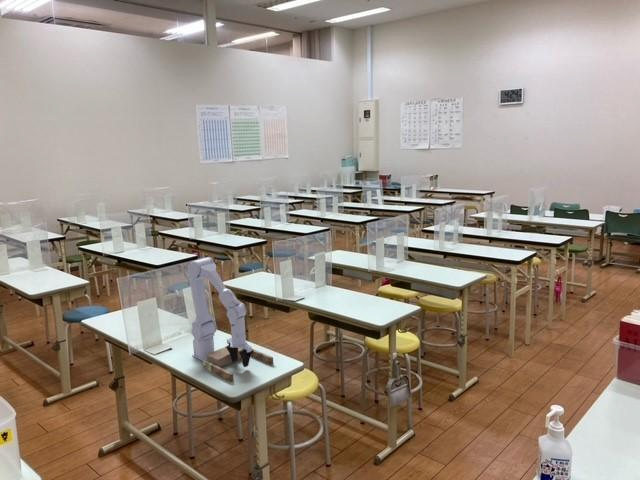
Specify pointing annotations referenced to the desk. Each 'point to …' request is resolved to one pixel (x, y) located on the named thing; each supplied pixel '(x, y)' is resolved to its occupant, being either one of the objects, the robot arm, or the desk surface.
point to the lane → (229, 375)
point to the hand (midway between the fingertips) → (240, 363)
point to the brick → (221, 357)
